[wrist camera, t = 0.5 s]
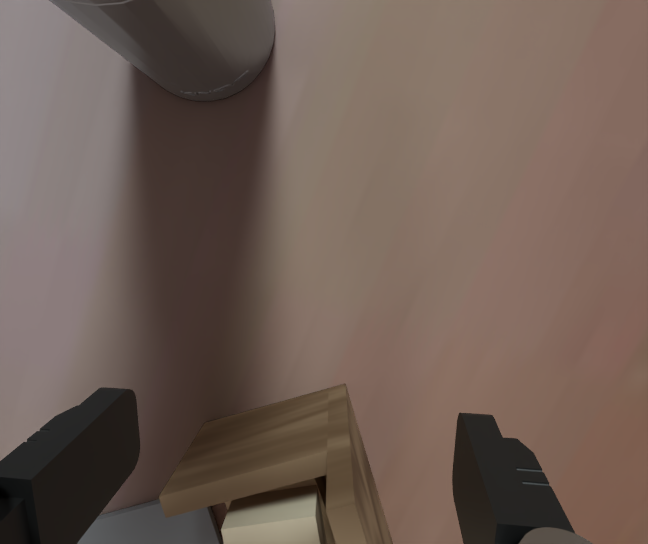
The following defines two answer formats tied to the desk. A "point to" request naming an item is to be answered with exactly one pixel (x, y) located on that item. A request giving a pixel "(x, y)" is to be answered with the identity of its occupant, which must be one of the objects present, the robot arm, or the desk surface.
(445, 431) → the desk surface
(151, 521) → the felt pad
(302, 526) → the offcut top
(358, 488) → the walnut rack
